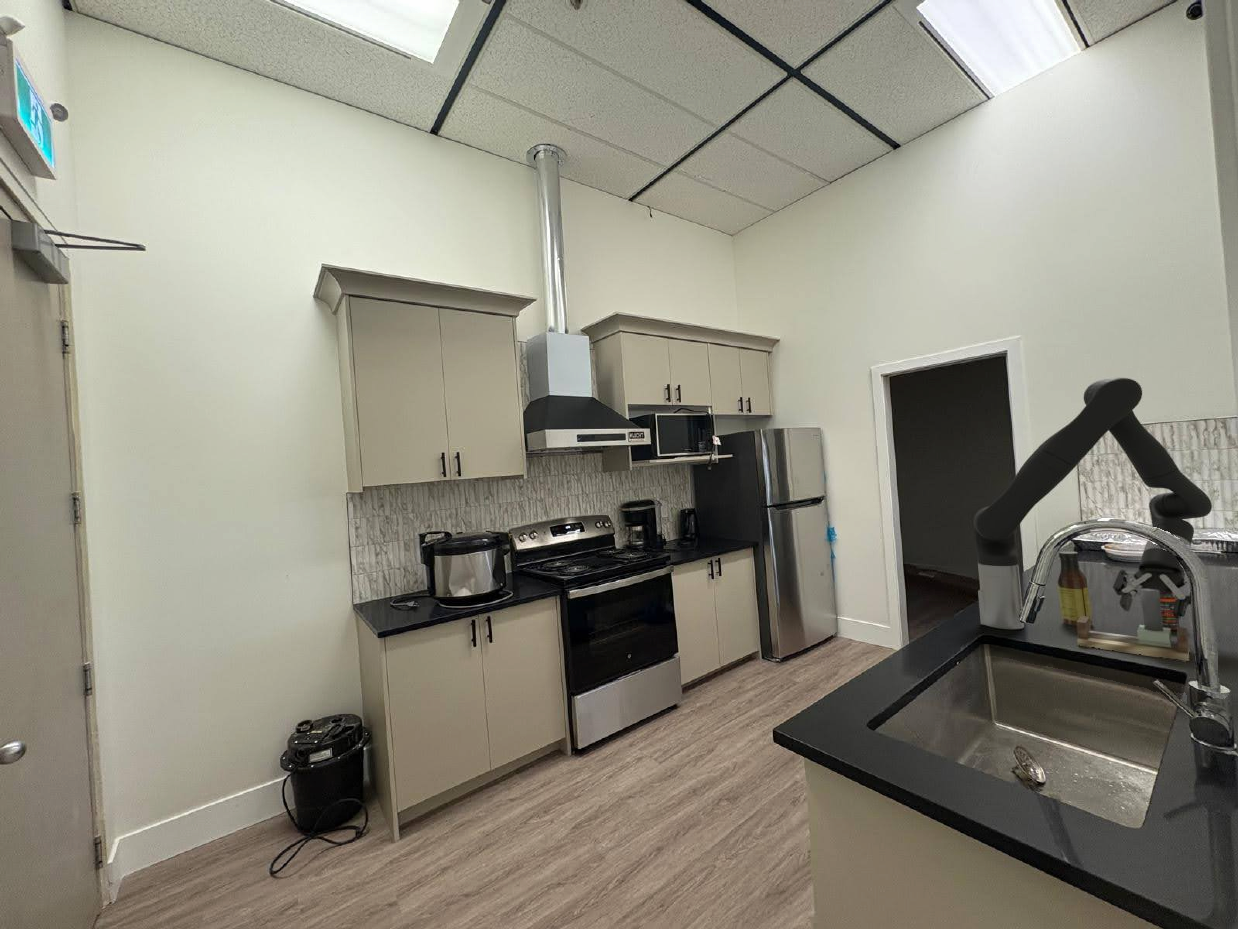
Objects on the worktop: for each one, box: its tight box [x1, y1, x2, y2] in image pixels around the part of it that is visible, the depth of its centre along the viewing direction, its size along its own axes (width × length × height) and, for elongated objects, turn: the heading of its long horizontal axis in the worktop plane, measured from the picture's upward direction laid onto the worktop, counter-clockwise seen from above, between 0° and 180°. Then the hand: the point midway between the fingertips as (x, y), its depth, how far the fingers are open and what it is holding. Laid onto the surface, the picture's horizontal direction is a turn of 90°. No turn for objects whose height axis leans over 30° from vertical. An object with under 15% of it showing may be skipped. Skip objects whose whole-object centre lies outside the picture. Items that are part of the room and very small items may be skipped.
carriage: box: [1136, 589, 1172, 648], centre depth 117 cm, size 5×6×12 cm
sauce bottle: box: [1057, 550, 1093, 627], centre depth 141 cm, size 7×6×20 cm
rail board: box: [1076, 616, 1191, 662], centre depth 120 cm, size 18×9×6 cm, turn 41°
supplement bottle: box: [1159, 593, 1181, 631], centre depth 134 cm, size 6×6×11 cm
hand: (1150, 612), depth 117 cm, fingers open, 8 cm apart
